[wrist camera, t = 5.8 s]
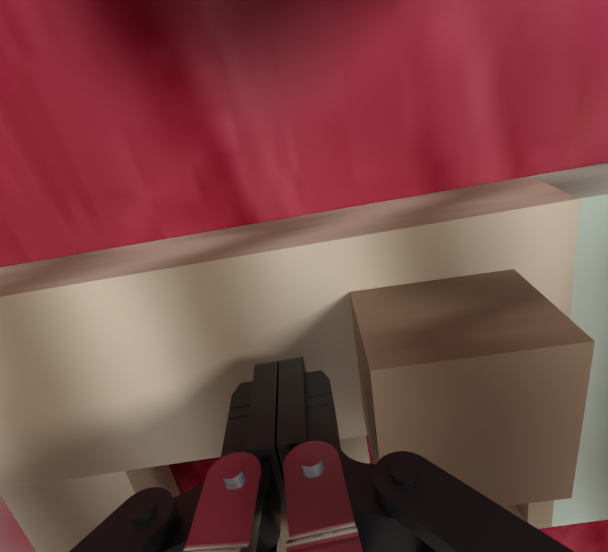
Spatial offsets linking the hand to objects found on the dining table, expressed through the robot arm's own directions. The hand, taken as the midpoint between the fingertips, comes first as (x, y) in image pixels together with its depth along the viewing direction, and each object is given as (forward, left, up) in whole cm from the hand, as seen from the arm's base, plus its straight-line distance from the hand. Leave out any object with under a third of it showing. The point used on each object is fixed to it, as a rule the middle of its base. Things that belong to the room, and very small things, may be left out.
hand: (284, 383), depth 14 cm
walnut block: (-5, 0, -1) cm, 5 cm away
